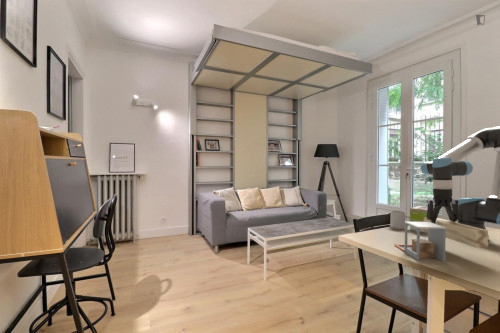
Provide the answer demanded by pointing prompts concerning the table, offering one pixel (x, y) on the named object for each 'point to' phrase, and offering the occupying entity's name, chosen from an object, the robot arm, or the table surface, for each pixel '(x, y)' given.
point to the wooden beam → (463, 233)
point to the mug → (398, 219)
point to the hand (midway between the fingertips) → (443, 233)
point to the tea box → (418, 216)
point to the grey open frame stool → (434, 235)
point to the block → (424, 248)
